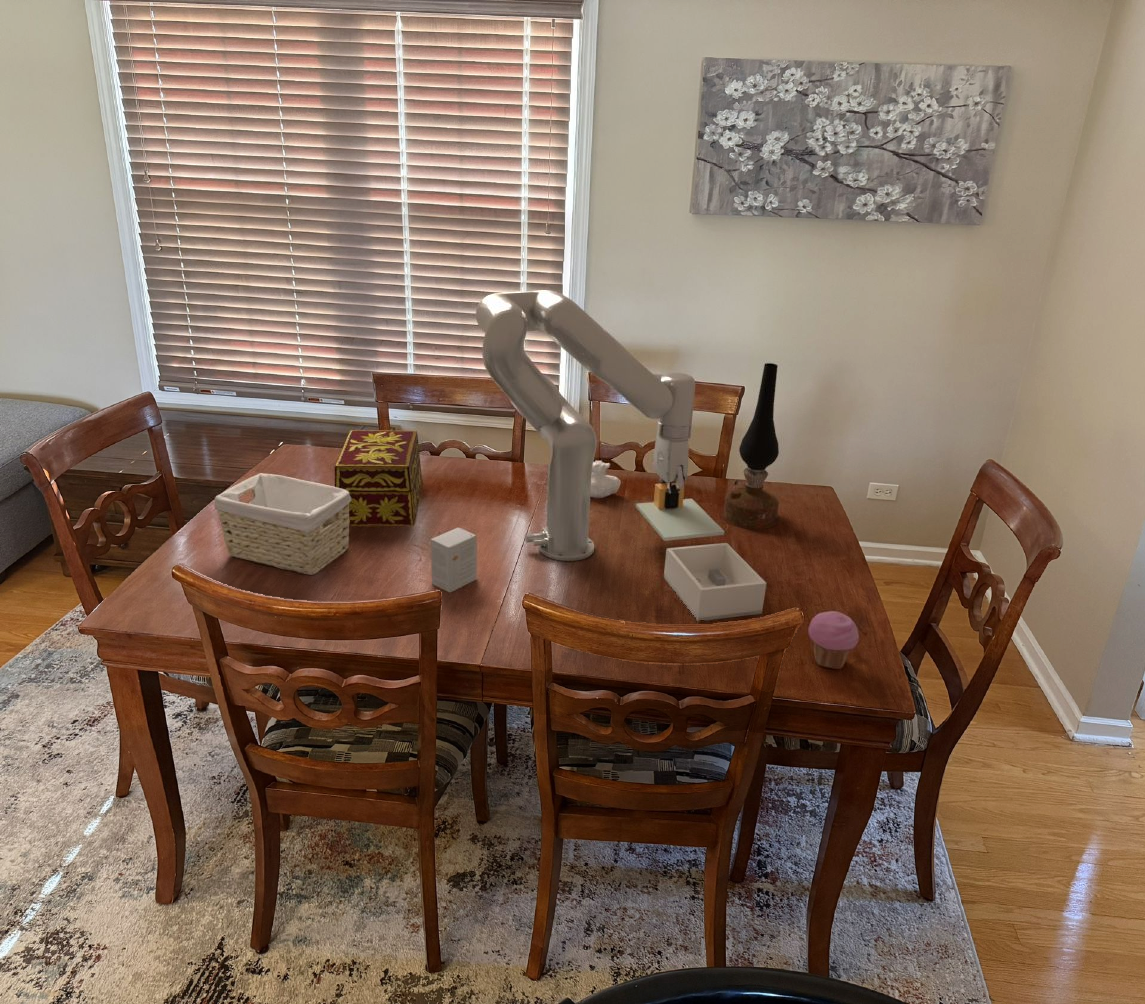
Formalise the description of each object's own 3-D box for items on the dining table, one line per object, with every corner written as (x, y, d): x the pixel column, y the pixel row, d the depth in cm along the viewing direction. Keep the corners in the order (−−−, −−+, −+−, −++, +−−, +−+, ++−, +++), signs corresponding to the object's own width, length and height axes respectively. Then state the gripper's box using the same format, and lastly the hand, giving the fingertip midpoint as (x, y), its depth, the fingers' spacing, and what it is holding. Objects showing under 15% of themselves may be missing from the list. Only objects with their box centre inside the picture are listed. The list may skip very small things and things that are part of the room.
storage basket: (358, 549, 186) (353, 487, 180) (314, 581, 172) (308, 516, 166) (267, 529, 193) (260, 470, 187) (218, 559, 179) (209, 496, 173)
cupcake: (855, 679, 149) (865, 631, 145) (805, 672, 150) (814, 625, 146) (849, 651, 157) (858, 605, 153) (801, 645, 158) (809, 599, 154)
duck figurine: (573, 501, 221) (572, 480, 211) (576, 476, 224) (575, 454, 214) (619, 505, 220) (620, 484, 210) (621, 480, 223) (622, 458, 213)
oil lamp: (783, 530, 213) (840, 380, 199) (753, 539, 201) (812, 380, 187) (737, 507, 220) (789, 361, 206) (707, 514, 209) (760, 360, 195)
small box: (459, 570, 179) (458, 526, 175) (477, 579, 176) (477, 534, 172) (430, 584, 173) (429, 538, 169) (449, 593, 170) (448, 547, 166)
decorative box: (414, 527, 198) (412, 468, 192) (334, 527, 196) (329, 467, 190) (422, 482, 223) (420, 428, 217) (351, 481, 221) (347, 428, 215)
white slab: (723, 537, 183) (726, 510, 181) (663, 544, 180) (666, 516, 177) (691, 504, 199) (693, 479, 196) (635, 509, 196) (637, 483, 193)
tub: (761, 613, 168) (766, 583, 165) (697, 621, 164) (701, 590, 162) (723, 571, 184) (726, 542, 181) (663, 577, 180) (666, 548, 177)
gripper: (645, 419, 193) (640, 492, 201) (672, 443, 179) (666, 520, 186) (675, 417, 195) (670, 489, 203) (704, 440, 181) (697, 517, 188)
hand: (668, 503), depth 194 cm, fingers closed on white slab, 3 cm apart
